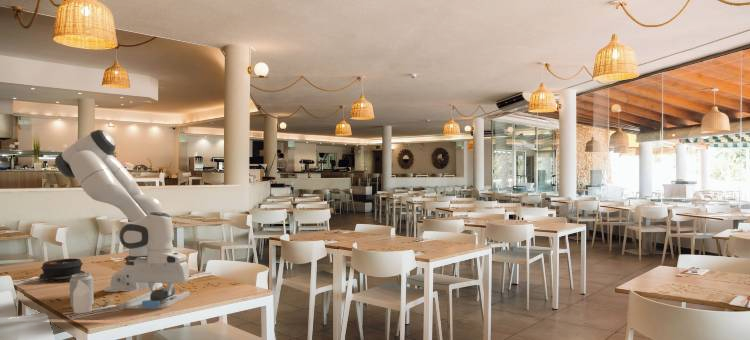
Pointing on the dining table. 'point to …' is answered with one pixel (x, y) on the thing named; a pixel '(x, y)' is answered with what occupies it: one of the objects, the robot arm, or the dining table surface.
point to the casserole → (61, 269)
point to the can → (85, 279)
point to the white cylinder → (82, 298)
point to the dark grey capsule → (161, 294)
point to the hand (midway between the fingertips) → (161, 294)
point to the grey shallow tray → (146, 302)
